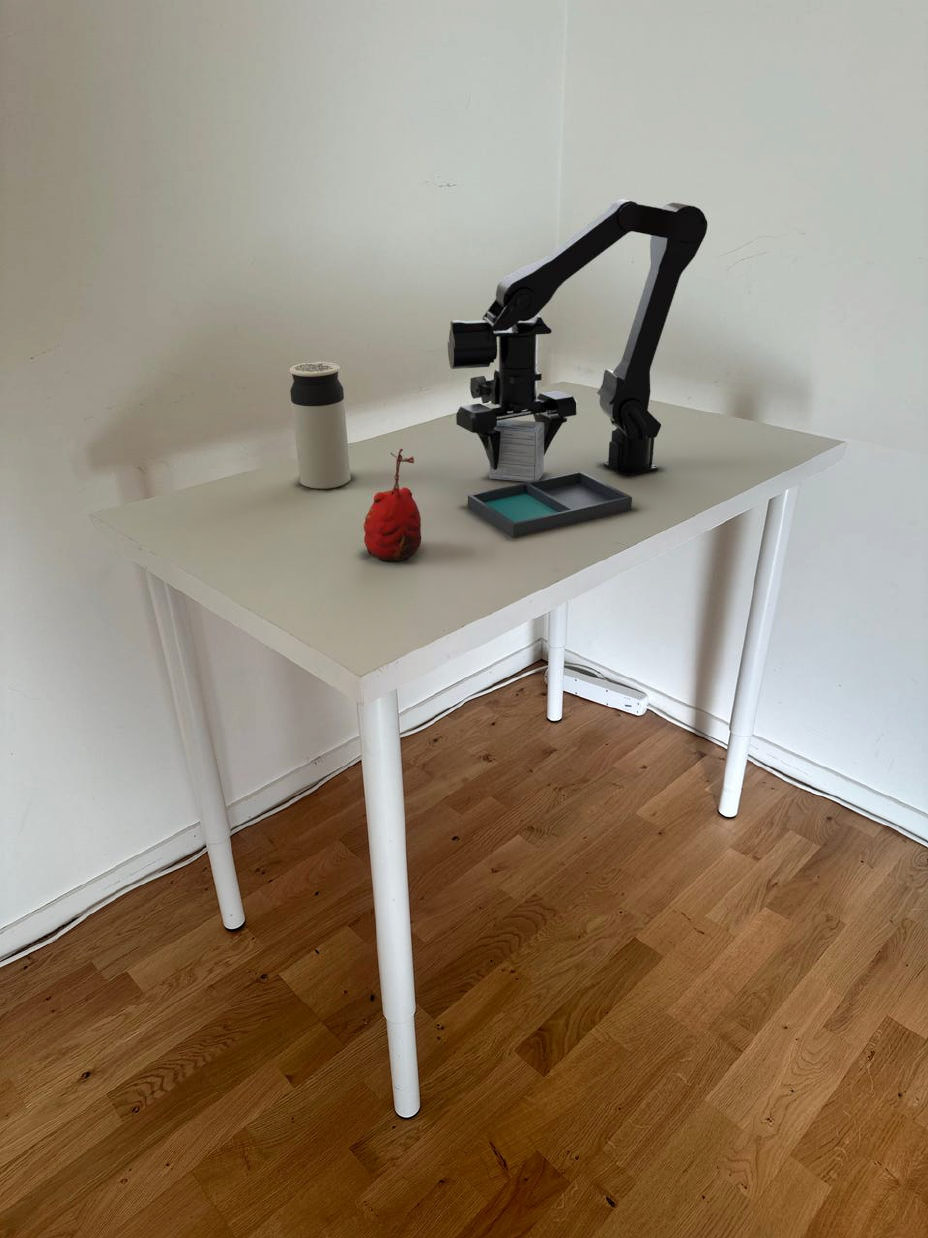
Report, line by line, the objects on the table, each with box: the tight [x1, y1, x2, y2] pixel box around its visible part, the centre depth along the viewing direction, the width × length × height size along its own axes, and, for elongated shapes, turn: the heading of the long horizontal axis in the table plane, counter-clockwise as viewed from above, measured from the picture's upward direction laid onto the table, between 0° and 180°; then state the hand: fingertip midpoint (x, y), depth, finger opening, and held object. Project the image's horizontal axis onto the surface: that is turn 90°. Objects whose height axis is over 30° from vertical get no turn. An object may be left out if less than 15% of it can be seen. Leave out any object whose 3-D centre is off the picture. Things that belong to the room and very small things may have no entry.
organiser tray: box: [467, 470, 633, 539], centre depth 132 cm, size 20×13×2 cm, turn 118°
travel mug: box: [289, 361, 352, 490], centre depth 140 cm, size 8×8×18 cm
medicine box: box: [488, 419, 545, 483], centre depth 142 cm, size 8×4×9 cm, turn 71°
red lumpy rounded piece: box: [363, 448, 422, 562], centre depth 116 cm, size 8×7×15 cm
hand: (517, 464), depth 144 cm, fingers closed on medicine box, 8 cm apart
